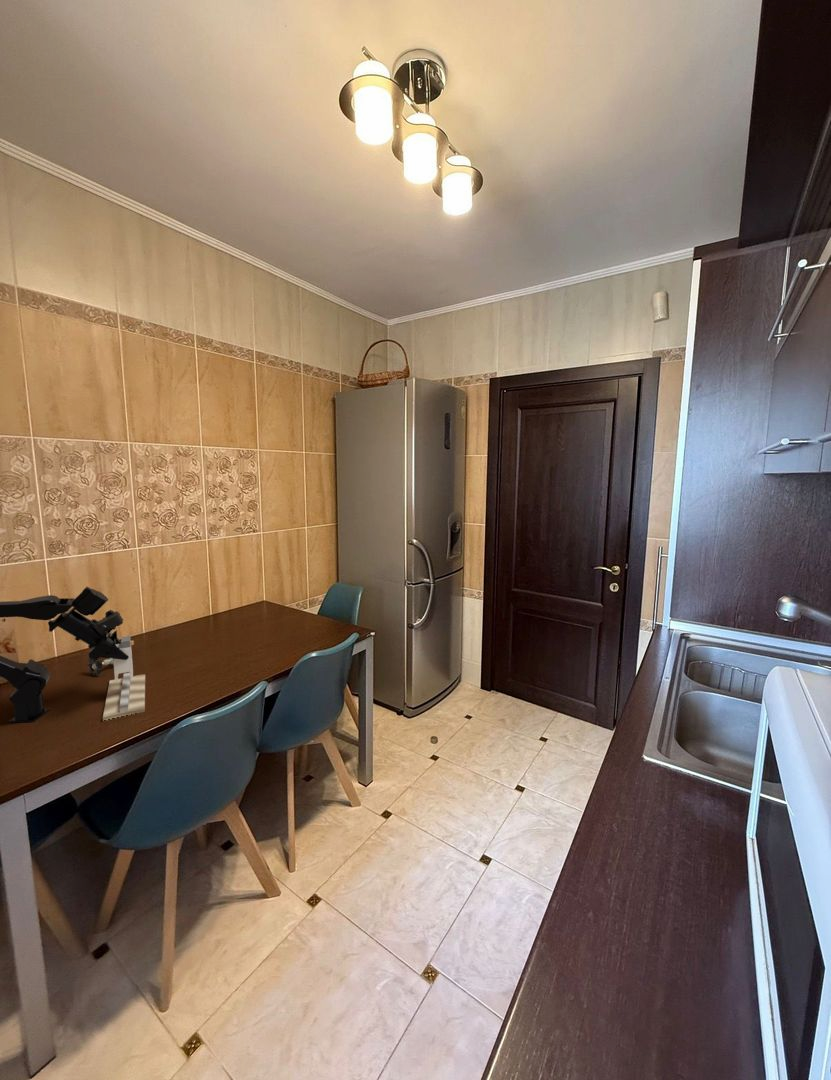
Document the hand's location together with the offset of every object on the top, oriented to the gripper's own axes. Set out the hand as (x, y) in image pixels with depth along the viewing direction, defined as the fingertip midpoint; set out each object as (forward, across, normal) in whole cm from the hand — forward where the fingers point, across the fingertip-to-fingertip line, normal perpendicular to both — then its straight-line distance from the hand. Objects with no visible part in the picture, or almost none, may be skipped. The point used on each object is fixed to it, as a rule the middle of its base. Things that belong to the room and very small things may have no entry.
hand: (128, 655), depth 136 cm
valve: (+5, +26, +14) cm, 30 cm away
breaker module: (+4, 0, +6) cm, 7 cm away
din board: (+8, 0, +10) cm, 13 cm away
